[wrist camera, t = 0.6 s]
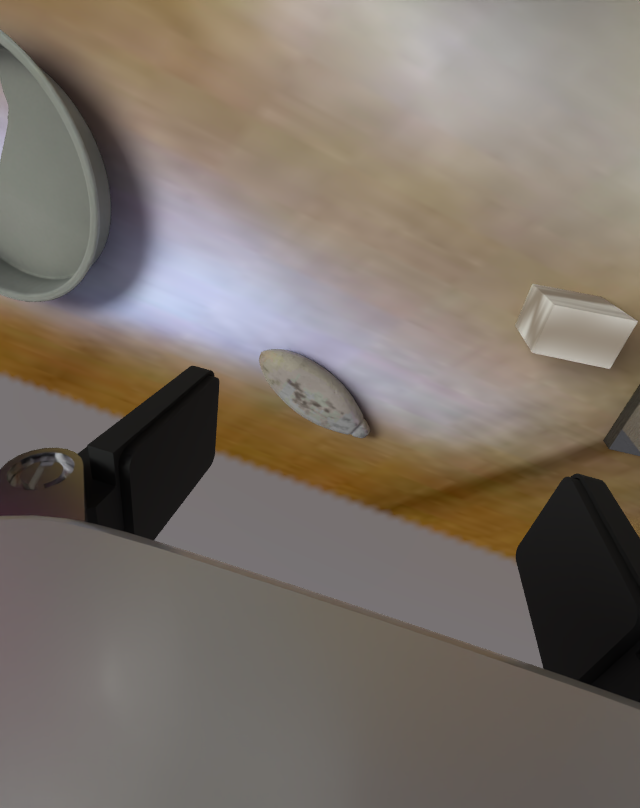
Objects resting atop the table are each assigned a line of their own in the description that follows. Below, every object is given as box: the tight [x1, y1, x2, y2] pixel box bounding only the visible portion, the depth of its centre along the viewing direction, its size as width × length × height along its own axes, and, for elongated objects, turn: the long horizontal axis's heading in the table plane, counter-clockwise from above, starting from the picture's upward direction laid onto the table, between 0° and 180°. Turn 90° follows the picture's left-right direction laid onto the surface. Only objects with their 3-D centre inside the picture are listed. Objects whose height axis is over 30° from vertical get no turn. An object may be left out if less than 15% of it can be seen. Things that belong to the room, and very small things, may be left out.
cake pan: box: [0, 29, 111, 302], centre depth 40 cm, size 25×25×4 cm
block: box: [515, 284, 638, 369], centre depth 34 cm, size 4×6×7 cm, turn 82°
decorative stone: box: [259, 349, 370, 438], centre depth 45 cm, size 6×16×3 cm, turn 55°
